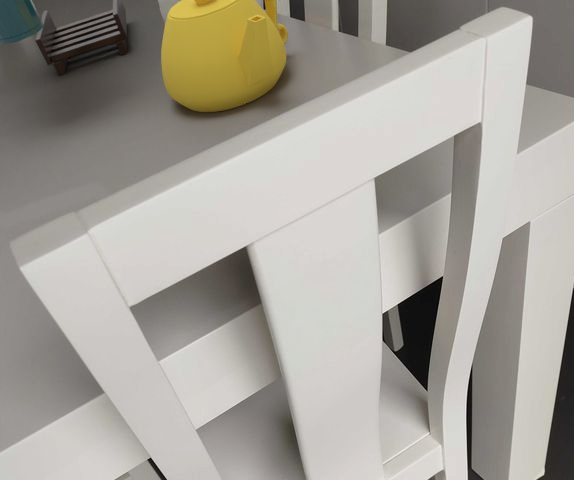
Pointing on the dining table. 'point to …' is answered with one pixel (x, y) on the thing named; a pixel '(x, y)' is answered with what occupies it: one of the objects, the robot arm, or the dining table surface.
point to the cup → (18, 20)
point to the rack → (82, 36)
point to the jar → (166, 7)
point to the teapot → (221, 52)
